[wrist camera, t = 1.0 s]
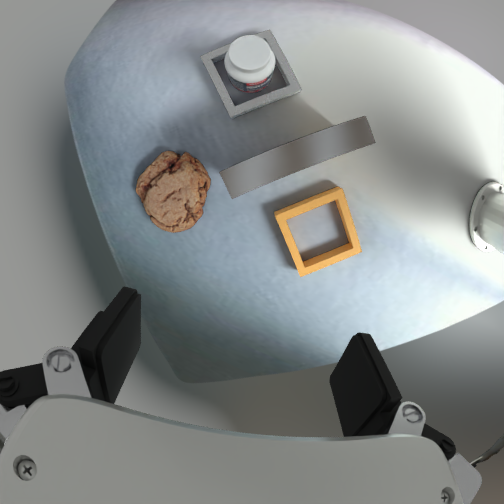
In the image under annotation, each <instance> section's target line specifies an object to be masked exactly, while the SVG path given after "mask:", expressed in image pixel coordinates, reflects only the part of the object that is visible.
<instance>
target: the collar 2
mask: <svg viewBox="0 0 504 504" xmlns="http://www.w3.org/2000/svg"><path fill="white" fill-rule="evenodd" d="M334 200H335V202H336V205H337V208H338V210H339V213H340V216H341V219H342V223H343V226H344V229H345V232H346V235H347V238H348V241H349V243H348V244H345V245H343V246H340V247H338V248H336V249H333V250H331V251H328V252H326V253H323V254H321V255H318V256H316V257H313V258H311V259H308V260H306V261H302V259H301V256H300V254H299V251H298V249H297V246H296V244H295V241H294V239H293V237H292V234H291V232H290V229H289V227H288V224H287V222H286V220H287V219H290V218H292V217H295V216H297V215H299V214H302V213H304V212H307V211H309V210H312V209H314V208H317V207H319V206H322V205H324V204H327V203H329V202H332V201H334ZM274 214H275V217H276V220H277V222H278V224H279V227H280V229H281V231H282V234H283V236H284V238H285V241H286V243H287V246H288V248H289V250H290V253H291V255H292V258H293V260H294V263H295V265H296V267H297V270H298V272H299V275H300V277H302V276H304V275H307V274H309V273H312V272H314V271H317V270H319V269H322V268H324V267H327V266H329V265H332V264H334V263H336V262H339V261H341V260H344V259H346V258H349V257H351V256H353V255H356V254H358V253H360V252H362V250H361V247H360V243H359V240H358V236H357V233H356V229H355V226H354V223H353V219H352V216H351V213H350V210H349V207H348V204H347V201H346V198H345V195H344V192H343V189H342V188H340V187H335V188H332V189H330V190H327V191H325V192H322V193H320V194H317V195H315V196H312V197H310V198H307V199H305V200H302V201H300V202H297V203H295V204H292V205H290V206H287V207H285V208H283V209H280V210H278V211H275V212H274Z"/></svg>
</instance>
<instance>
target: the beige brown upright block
mask: <svg viewBox="0 0 504 504" xmlns="http://www.w3.org/2000/svg"><path fill="white" fill-rule="evenodd" d="M373 143H375V140H374V137H373V134H372V132H371V129H370V126H369V124H368V121H367V118H366V116H363V117H360V118H357V119H354V120H350V121H347V122H344V123H341V124H338V125H335V126H332V127H329V128H327V129H324V130H321V131H318V132H315V133H313V134H310V135H307V136H304V137H302V138H299V139H296V140H294V141H291V142H289V143H286V144H283V145H281V146H278V147H276V148H273V149H271V150H269V151H266V152H264V153H261V154H259V155H257V156H254V157H252V158H250V159H247V160H245V161H243V162H240V163H238V164H236V165H234V166H231V167H229V168H227V169H225V170H223V171H220V172H219V173H220V175H221V177H222V179H223V181H224V183H225V185H226V187H227V189H228V192H229V194H230V196H231V198H232V199H233V198H236V197H238V196H240V195H242V194H245V193H247V192H249V191H252V190H254V189H256V188H259V187H261V186H263V185H266V184H268V183H271V182H273V181H275V180H278V179H280V178H283V177H285V176H288V175H290V174H293V173H295V172H298V171H300V170H303V169H305V168H308V167H310V166H313V165H316V164H318V163H321V162H323V161H326V160H329V159H331V158H334V157H337V156H340V155H342V154H345V153H348V152H351V151H353V150H356V149H359V148H362V147H365V146H368V145H371V144H373Z"/></svg>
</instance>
